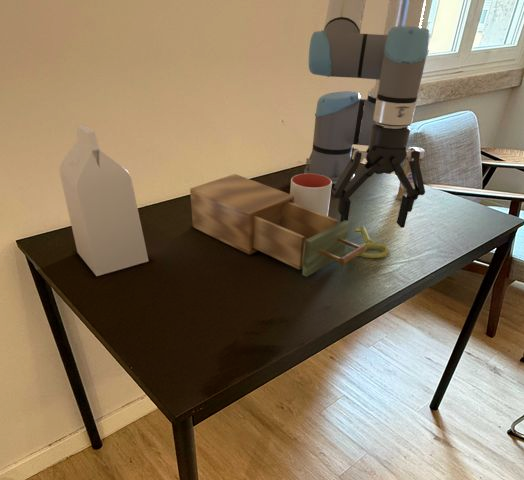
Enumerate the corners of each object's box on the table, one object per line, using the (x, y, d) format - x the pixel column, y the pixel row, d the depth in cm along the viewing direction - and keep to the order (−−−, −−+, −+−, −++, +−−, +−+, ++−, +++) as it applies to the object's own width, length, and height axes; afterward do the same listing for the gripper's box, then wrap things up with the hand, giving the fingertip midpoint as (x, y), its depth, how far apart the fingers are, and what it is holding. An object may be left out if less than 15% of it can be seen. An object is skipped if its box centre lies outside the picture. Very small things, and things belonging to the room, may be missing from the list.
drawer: (369, 265, 97) (376, 231, 92) (332, 289, 89) (338, 254, 84) (281, 228, 110) (283, 196, 105) (242, 246, 102) (242, 213, 97)
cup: (282, 223, 114) (285, 183, 107) (295, 208, 121) (298, 170, 114) (320, 230, 111) (325, 190, 105) (331, 215, 118) (336, 177, 112)
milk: (148, 261, 97) (128, 132, 81) (96, 276, 92) (63, 141, 75) (126, 239, 105) (104, 117, 88) (77, 252, 100) (43, 125, 83)
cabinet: (291, 234, 109) (294, 195, 103) (249, 255, 101) (250, 214, 95) (235, 210, 119) (234, 173, 113) (192, 227, 111) (189, 188, 105)
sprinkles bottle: (399, 201, 127) (410, 151, 118) (394, 195, 130) (405, 146, 122) (415, 201, 127) (427, 151, 118) (409, 195, 131) (421, 146, 122)
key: (362, 233, 111) (363, 225, 109) (391, 256, 102) (393, 247, 101) (336, 237, 108) (337, 229, 107) (364, 261, 100) (366, 253, 98)
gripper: (335, 129, 84) (322, 235, 97) (460, 128, 87) (430, 231, 100) (325, 119, 89) (314, 221, 103) (442, 118, 93) (416, 217, 106)
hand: (371, 226), depth 102 cm, fingers open, 13 cm apart
